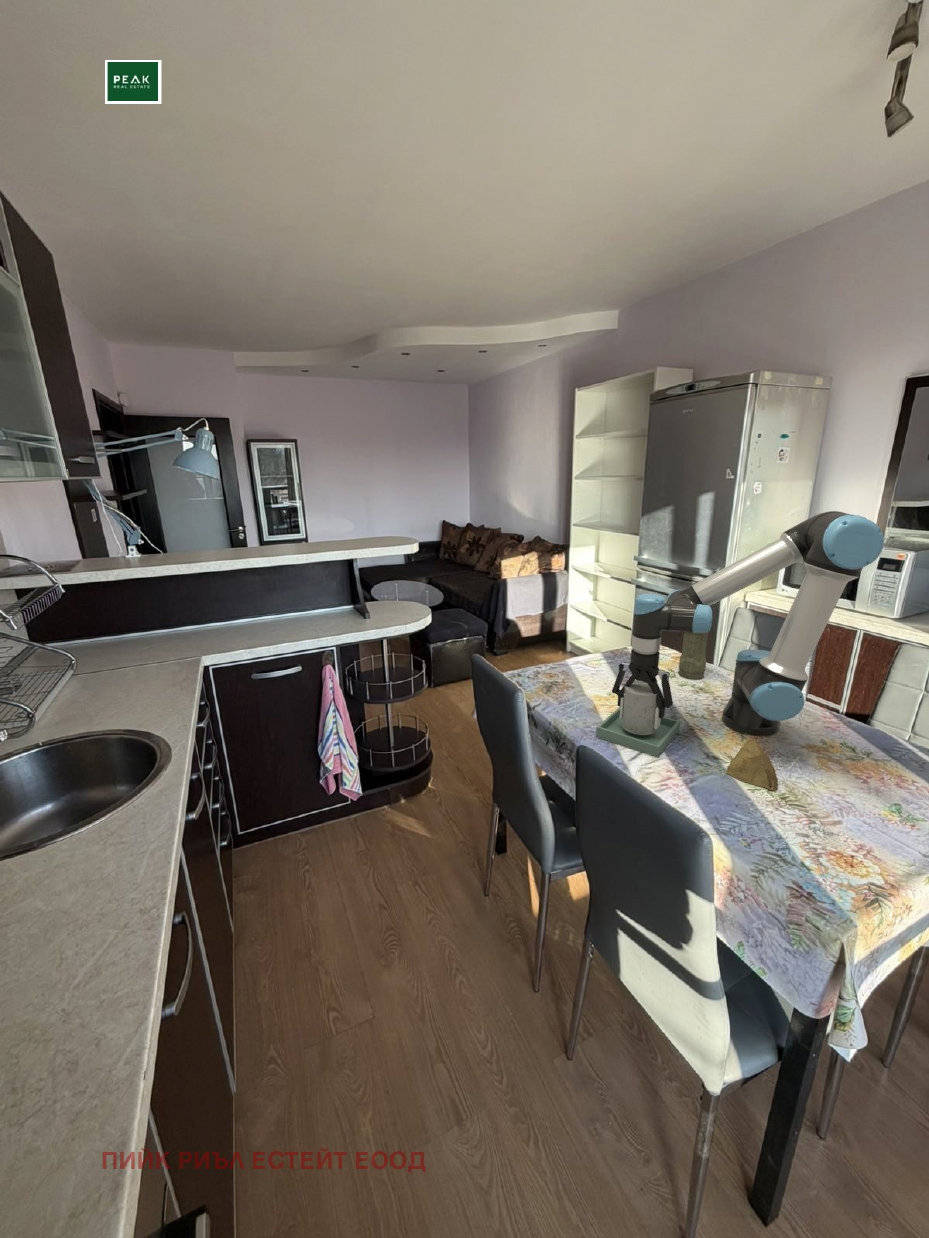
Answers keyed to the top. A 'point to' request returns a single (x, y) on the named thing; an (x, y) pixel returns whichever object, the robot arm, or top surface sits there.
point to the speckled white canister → (639, 709)
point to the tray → (642, 743)
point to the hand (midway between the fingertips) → (639, 721)
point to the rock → (753, 766)
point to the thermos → (693, 655)
